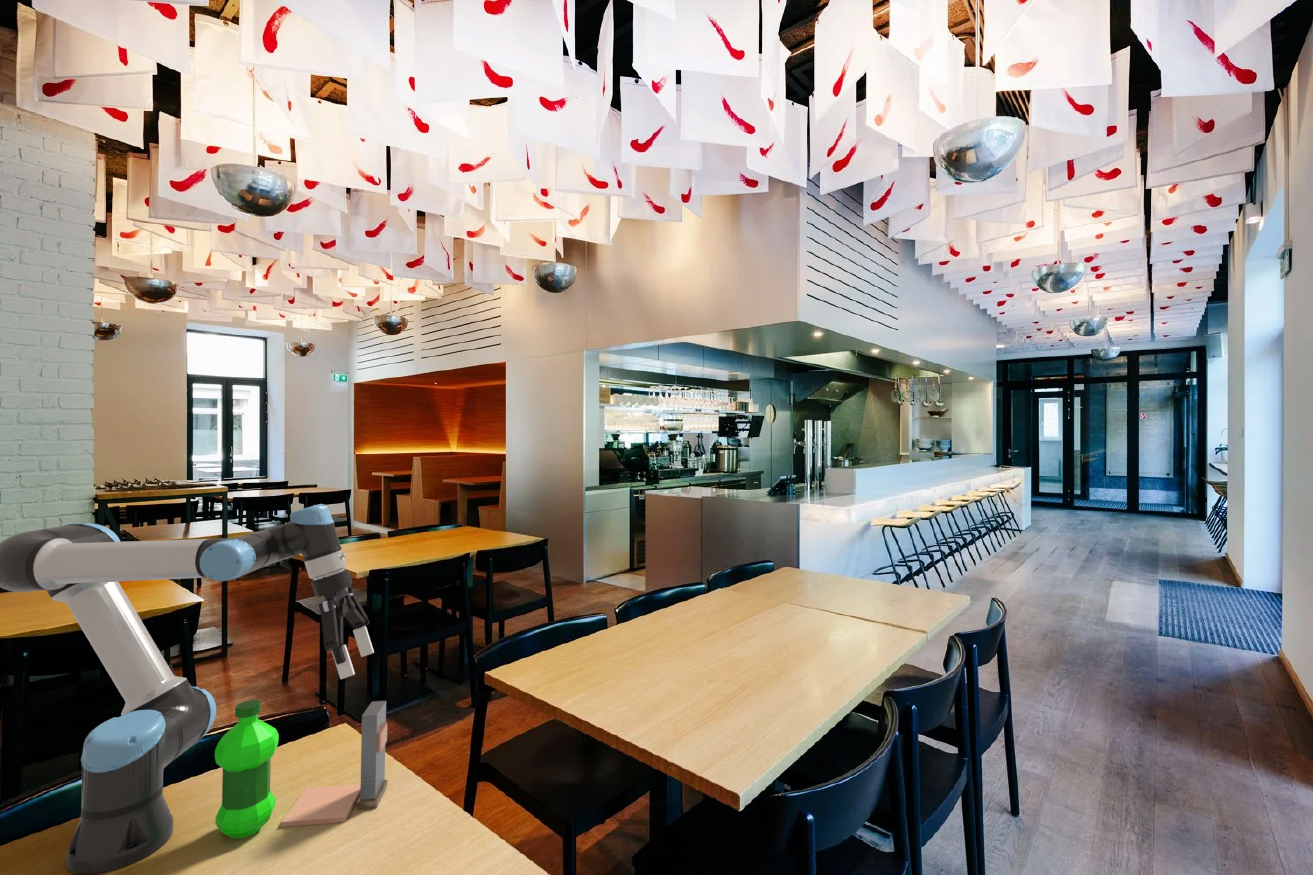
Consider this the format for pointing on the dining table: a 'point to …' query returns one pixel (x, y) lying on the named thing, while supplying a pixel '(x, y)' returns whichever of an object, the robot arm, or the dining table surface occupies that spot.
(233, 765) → the plastic bottle
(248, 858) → the dining table surface
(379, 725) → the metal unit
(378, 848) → the dining table surface
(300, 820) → the terracotta pad
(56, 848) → the dining table surface
